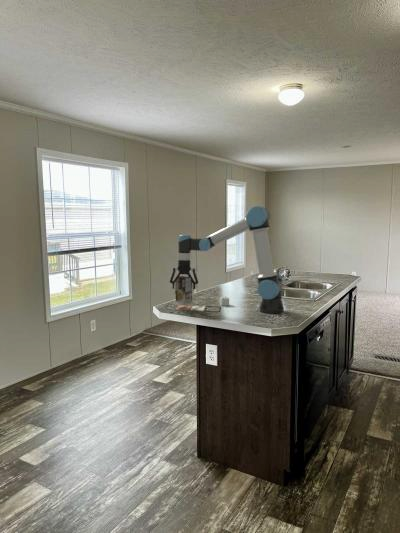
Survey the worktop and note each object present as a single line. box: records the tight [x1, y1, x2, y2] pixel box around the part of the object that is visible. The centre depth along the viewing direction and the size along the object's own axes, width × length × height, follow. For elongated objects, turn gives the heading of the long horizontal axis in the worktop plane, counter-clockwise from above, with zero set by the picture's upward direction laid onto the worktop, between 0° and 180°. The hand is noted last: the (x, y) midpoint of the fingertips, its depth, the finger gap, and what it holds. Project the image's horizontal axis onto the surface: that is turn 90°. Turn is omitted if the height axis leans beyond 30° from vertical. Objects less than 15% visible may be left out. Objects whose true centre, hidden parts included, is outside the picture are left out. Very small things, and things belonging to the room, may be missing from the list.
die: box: [219, 296, 230, 307], centre depth 256 cm, size 5×5×5 cm
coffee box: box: [175, 275, 193, 305], centre depth 244 cm, size 9×6×16 cm
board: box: [173, 304, 222, 313], centre depth 244 cm, size 28×14×1 cm, turn 83°
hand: (183, 294), depth 244 cm, fingers closed on coffee box, 11 cm apart
